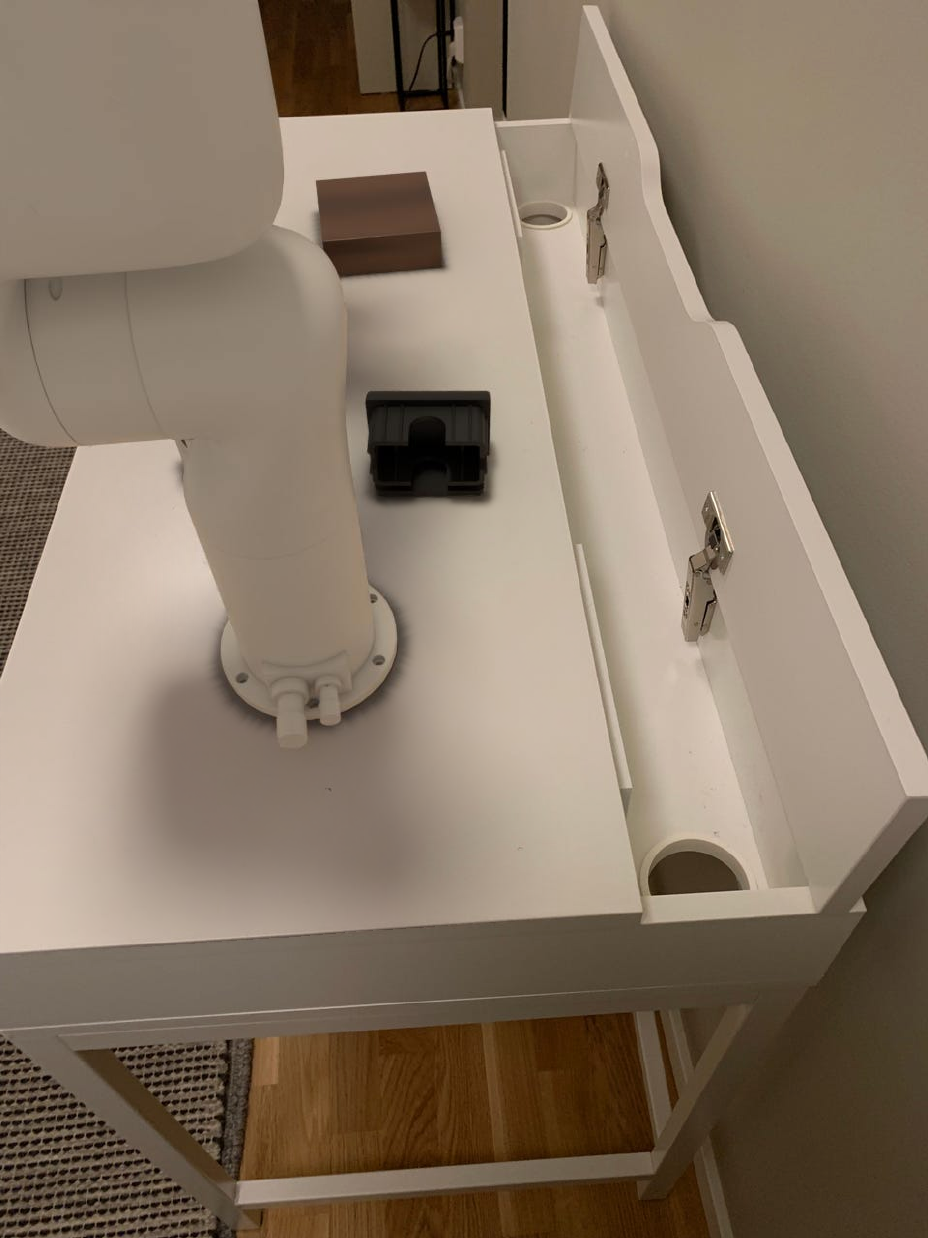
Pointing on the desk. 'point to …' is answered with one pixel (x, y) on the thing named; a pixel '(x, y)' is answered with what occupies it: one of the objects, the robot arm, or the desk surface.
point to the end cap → (428, 442)
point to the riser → (379, 223)
